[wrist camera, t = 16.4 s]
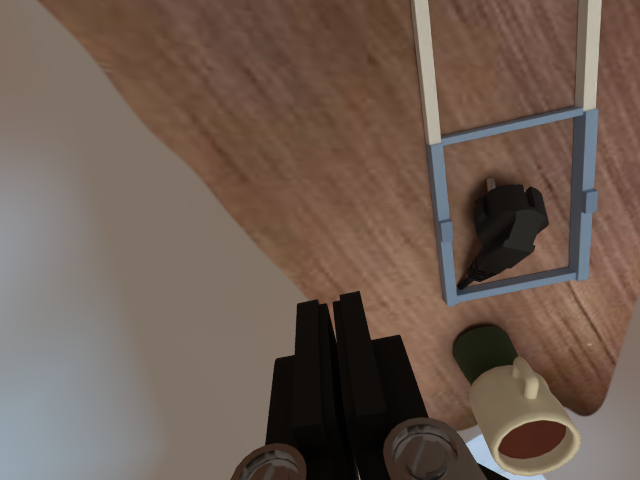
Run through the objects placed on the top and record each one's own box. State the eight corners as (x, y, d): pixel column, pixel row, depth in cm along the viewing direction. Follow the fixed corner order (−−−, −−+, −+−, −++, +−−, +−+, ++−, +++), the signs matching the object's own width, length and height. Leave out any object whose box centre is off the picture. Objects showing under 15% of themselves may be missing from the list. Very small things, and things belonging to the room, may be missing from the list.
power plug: (435, 289, 41) (504, 227, 30) (431, 227, 45) (491, 154, 34) (486, 298, 41) (571, 240, 31) (478, 237, 45) (551, 167, 35)
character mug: (506, 380, 47) (568, 490, 35) (444, 383, 47) (486, 493, 35) (518, 301, 42) (595, 396, 30) (450, 305, 42) (500, 400, 31)
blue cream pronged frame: (404, -50, 30) (411, -59, 28) (596, -98, 29) (617, -111, 27) (442, 298, 42) (449, 310, 40) (578, 271, 41) (592, 282, 39)
